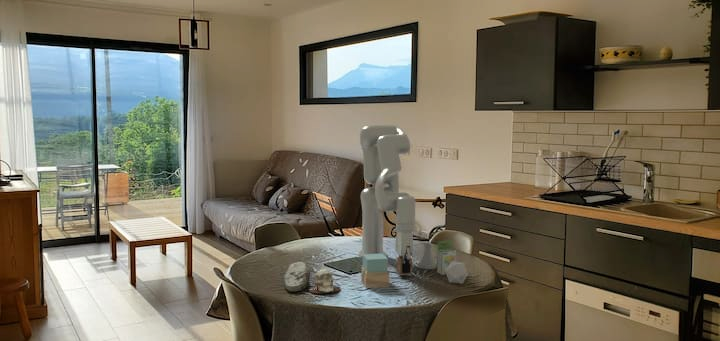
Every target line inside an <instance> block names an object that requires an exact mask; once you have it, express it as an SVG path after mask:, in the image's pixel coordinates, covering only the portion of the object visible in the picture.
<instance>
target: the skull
mask: <svg viewBox="0 0 720 341" xmlns="http://www.w3.org/2000/svg"><path fill="white" fill-rule="evenodd" d="M334 280H335V279H334V277H333V275H332V273H331V272H330V271H329V270H328V269H325V268H322V269H320V270H318V271H317V272H316V273H315V274H314V277H313V281H314V287H315V286H316V287H317V290H316V289H315V290H314V289H313V290H309V291H308V292H309V293H313V294H333V293H336V292H339V291H341V287H340V286H338V285H334Z"/></svg>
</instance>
